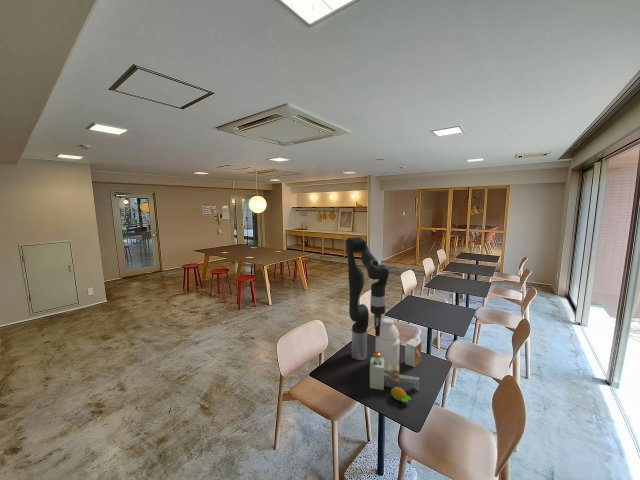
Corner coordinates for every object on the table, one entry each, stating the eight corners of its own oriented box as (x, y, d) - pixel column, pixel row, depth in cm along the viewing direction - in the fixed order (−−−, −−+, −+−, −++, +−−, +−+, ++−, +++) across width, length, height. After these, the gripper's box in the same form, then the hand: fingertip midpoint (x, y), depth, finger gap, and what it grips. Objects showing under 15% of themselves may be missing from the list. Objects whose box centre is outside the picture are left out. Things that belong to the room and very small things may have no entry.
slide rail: (383, 385, 140) (383, 375, 139) (383, 382, 143) (384, 372, 142) (419, 391, 136) (419, 380, 135) (418, 388, 138) (418, 377, 137)
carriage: (388, 380, 138) (389, 369, 137) (389, 374, 142) (389, 364, 142) (399, 381, 137) (399, 370, 136) (398, 376, 141) (398, 365, 140)
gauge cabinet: (369, 387, 139) (369, 366, 137) (371, 377, 147) (371, 356, 146) (383, 390, 137) (383, 368, 136) (384, 379, 146) (384, 358, 144)
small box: (414, 368, 155) (415, 346, 154) (404, 363, 160) (405, 343, 158) (421, 362, 161) (421, 341, 159) (411, 358, 165) (411, 338, 164)
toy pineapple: (396, 391, 136) (397, 381, 135) (413, 403, 128) (413, 392, 127) (387, 397, 132) (387, 387, 131) (404, 409, 124) (404, 398, 123)
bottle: (397, 359, 164) (397, 315, 161) (401, 373, 151) (402, 325, 147) (373, 358, 166) (374, 315, 162) (376, 371, 152) (376, 325, 149)
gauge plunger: (373, 371, 140) (373, 355, 139) (373, 366, 144) (373, 351, 143) (380, 372, 139) (381, 355, 138) (381, 367, 143) (381, 351, 142)
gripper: (371, 298, 144) (371, 329, 146) (369, 307, 131) (369, 340, 133) (385, 299, 142) (385, 330, 144) (385, 308, 129) (384, 342, 132)
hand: (377, 335), depth 139 cm, fingers closed
